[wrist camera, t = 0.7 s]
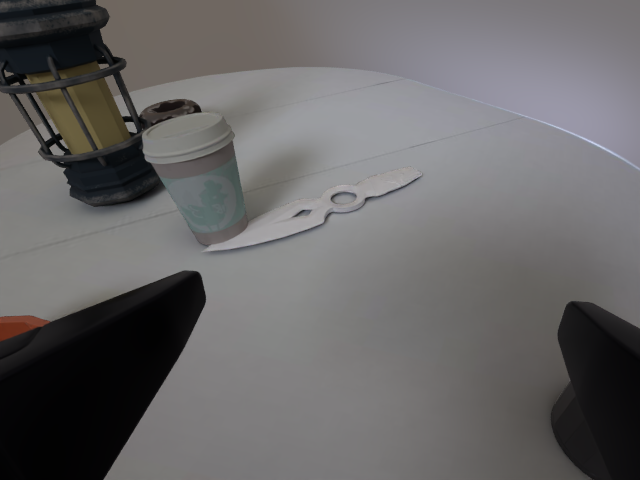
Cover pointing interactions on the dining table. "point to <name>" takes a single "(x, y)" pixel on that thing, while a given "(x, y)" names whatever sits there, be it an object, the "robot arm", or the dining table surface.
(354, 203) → the knife
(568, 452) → the utensil holder
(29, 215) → the dining table surface
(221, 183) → the coffee cup
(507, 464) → the dining table surface
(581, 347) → the robot arm
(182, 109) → the donut
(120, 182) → the lantern
